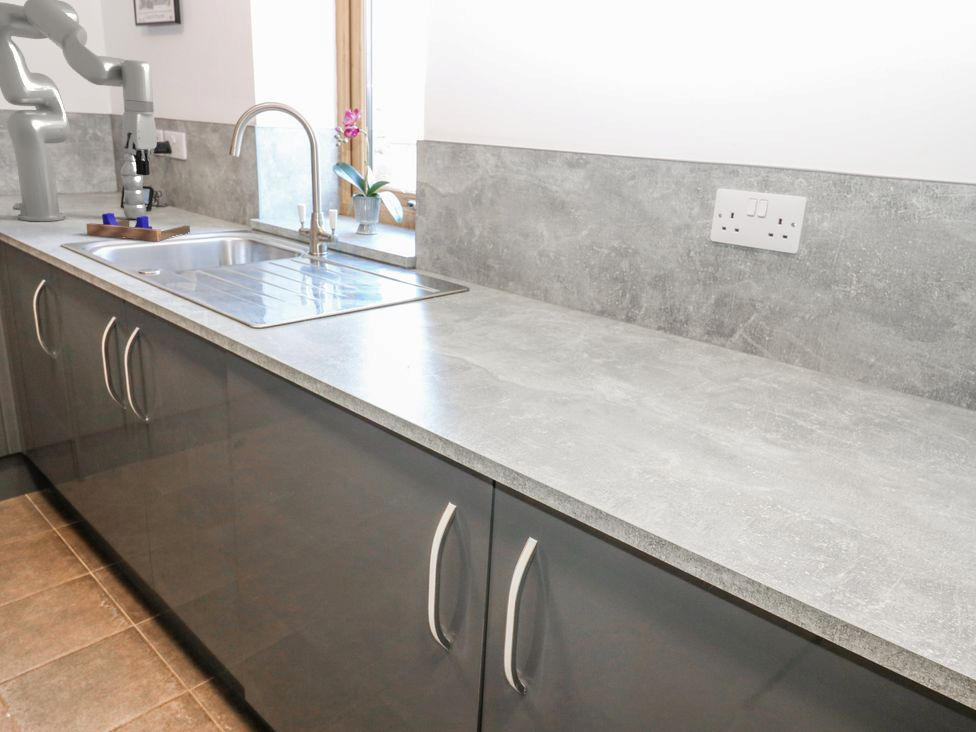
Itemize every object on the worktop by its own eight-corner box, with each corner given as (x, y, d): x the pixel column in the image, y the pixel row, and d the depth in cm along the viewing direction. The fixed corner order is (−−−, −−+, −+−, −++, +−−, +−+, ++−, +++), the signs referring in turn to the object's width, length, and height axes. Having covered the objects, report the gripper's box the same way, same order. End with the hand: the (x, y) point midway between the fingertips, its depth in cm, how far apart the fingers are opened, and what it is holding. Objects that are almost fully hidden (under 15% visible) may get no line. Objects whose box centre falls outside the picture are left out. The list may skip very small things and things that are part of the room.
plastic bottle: (120, 218, 237) (114, 153, 230) (140, 217, 242) (134, 153, 236) (131, 221, 233) (125, 155, 227) (151, 219, 239) (146, 155, 232)
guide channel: (87, 234, 208) (86, 223, 207) (124, 226, 224) (123, 216, 223) (157, 241, 205) (156, 230, 204) (190, 232, 221) (189, 222, 220)
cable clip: (152, 237, 212) (151, 215, 210) (143, 239, 208) (141, 217, 206) (114, 233, 214) (112, 212, 212) (104, 235, 210) (102, 214, 208)
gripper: (142, 106, 215) (146, 171, 221) (109, 106, 201) (114, 175, 207) (166, 109, 214) (169, 174, 220) (135, 108, 200) (139, 178, 206)
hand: (142, 174), depth 214 cm, fingers closed
